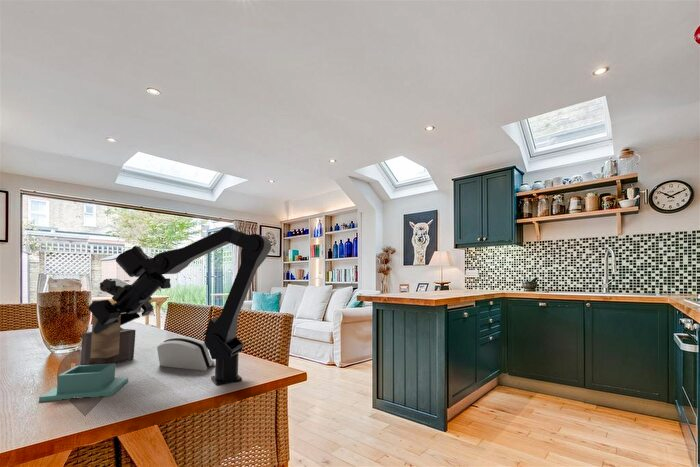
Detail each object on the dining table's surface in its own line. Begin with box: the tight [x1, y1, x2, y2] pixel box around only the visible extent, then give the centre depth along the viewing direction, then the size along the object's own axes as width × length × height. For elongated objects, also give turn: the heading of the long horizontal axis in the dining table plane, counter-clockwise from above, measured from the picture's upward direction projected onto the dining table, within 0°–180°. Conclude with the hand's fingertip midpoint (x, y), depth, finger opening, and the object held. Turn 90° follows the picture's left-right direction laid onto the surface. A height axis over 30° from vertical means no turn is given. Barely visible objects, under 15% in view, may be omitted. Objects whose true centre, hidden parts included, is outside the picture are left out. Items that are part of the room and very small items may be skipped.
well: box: [38, 363, 129, 403], centre depth 86 cm, size 14×11×5 cm
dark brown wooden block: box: [79, 326, 136, 365], centre depth 112 cm, size 16×11×18 cm
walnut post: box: [90, 314, 121, 358], centre depth 97 cm, size 4×4×13 cm
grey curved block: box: [157, 336, 215, 372], centre depth 106 cm, size 17×5×10 cm, turn 71°
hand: (101, 330), depth 97 cm, fingers closed on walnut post, 4 cm apart
